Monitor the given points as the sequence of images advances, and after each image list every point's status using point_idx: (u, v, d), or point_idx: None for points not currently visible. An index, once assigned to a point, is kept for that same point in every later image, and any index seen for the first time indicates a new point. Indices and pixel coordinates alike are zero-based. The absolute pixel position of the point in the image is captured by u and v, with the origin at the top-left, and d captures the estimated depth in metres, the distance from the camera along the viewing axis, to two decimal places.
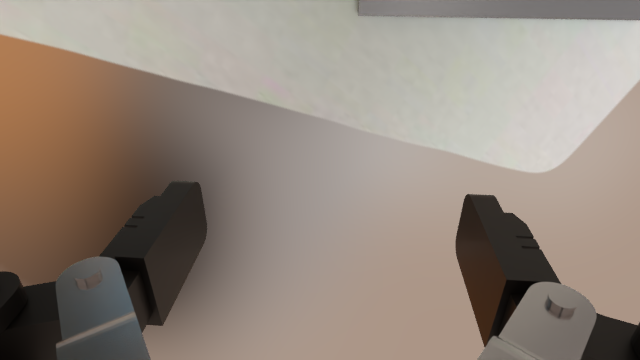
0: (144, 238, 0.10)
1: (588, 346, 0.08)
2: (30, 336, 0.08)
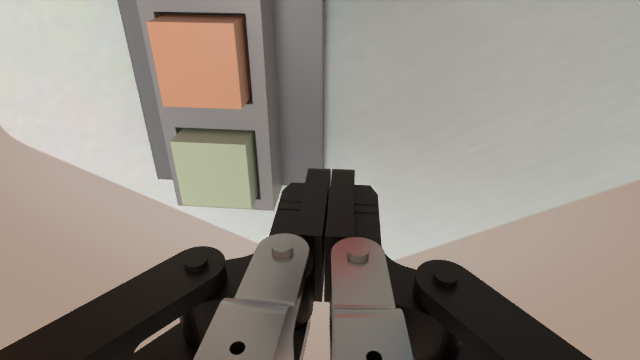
0: (312, 219, 0.11)
1: None
2: None
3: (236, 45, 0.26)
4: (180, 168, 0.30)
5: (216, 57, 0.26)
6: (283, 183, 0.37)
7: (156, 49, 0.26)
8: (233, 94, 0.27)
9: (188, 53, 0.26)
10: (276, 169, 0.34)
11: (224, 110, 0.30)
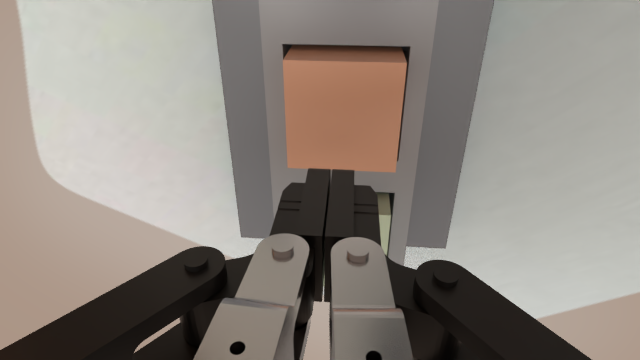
0: (312, 219, 0.11)
1: None
2: None
3: (403, 91, 0.19)
4: None
5: (372, 107, 0.19)
6: None
7: (291, 96, 0.19)
8: (387, 154, 0.20)
9: (334, 101, 0.19)
10: None
11: None
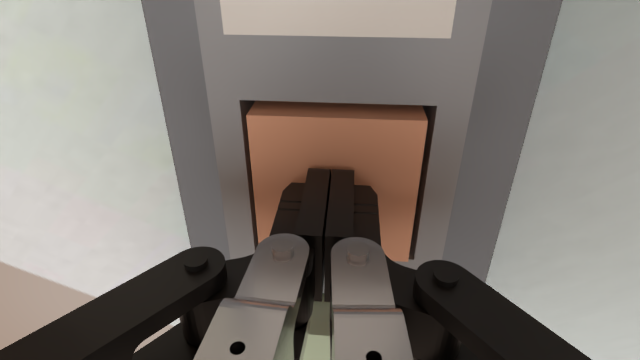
0: (312, 219, 0.11)
1: None
2: None
3: (421, 158, 0.13)
4: None
5: (377, 179, 0.13)
6: None
7: (260, 163, 0.13)
8: (397, 239, 0.14)
9: None
10: None
11: None
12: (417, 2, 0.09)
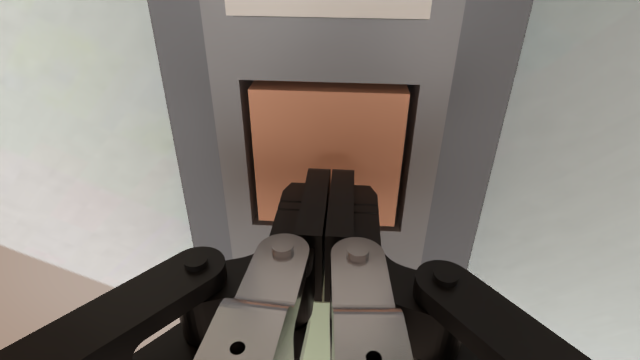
0: (312, 219, 0.11)
1: None
2: None
3: (404, 129, 0.14)
4: None
5: (365, 148, 0.15)
6: None
7: (260, 134, 0.15)
8: (384, 205, 0.16)
9: (316, 141, 0.15)
10: None
11: None
12: None
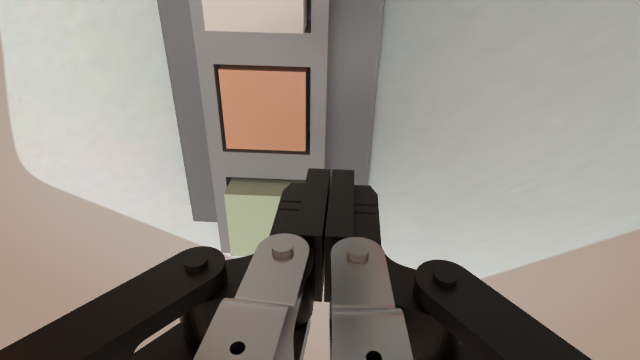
0: (312, 219, 0.11)
1: None
2: None
3: (305, 92, 0.26)
4: (232, 220, 0.29)
5: (284, 103, 0.26)
6: None
7: (225, 95, 0.26)
8: (298, 137, 0.28)
9: (257, 99, 0.26)
10: None
11: (279, 160, 0.29)
12: (287, 18, 0.22)
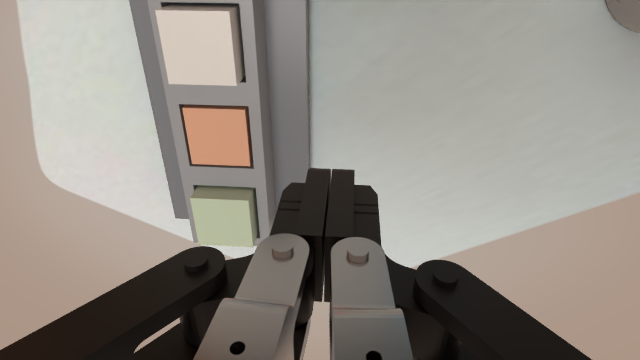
0: (312, 219, 0.11)
1: None
2: None
3: (246, 123, 0.36)
4: (197, 217, 0.39)
5: (231, 131, 0.36)
6: None
7: (188, 125, 0.36)
8: (244, 156, 0.37)
9: (212, 128, 0.36)
10: (272, 213, 0.43)
11: (231, 173, 0.38)
12: (224, 76, 0.32)
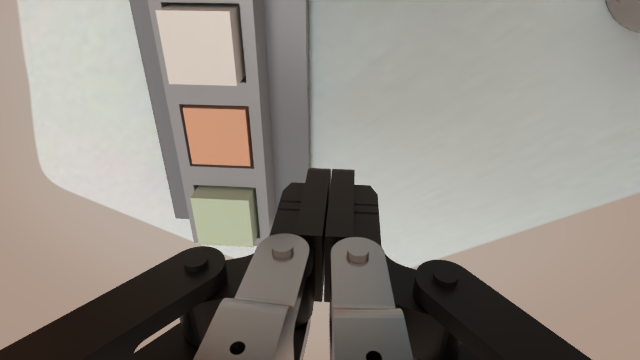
0: (312, 219, 0.11)
1: None
2: None
3: (247, 123, 0.36)
4: (197, 217, 0.39)
5: (232, 131, 0.36)
6: None
7: (189, 125, 0.36)
8: (244, 156, 0.37)
9: (212, 128, 0.36)
10: (272, 213, 0.43)
11: (232, 173, 0.38)
12: (225, 76, 0.32)
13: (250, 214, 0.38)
